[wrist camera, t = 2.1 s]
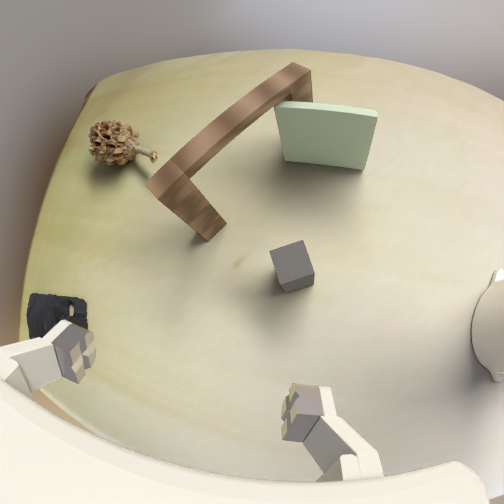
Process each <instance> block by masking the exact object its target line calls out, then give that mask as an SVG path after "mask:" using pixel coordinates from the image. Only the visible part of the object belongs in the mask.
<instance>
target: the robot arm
mask: <svg viewBox="0 0 504 504" xmlns="http://www.w3.org/2000/svg"><path fill="white" fill-rule="evenodd" d="M93 340H94V335H93V333H92V332H91V331H89V330H87V329H85V328H82V327H80V326H78V325H76V324H73V323H71V322H69V321H67V320H61V321H60V322H59V323H58V324H57V325H56V326H55V327H53V328H52V329H51V330H50V331H49V332H48V333H47V334H46V335H45V336H44V337H43V338H40V337H38V338H34V339H30V340H26V341H22V342H18V343H14V344H10V345H6V346H2V347H0V504H490V503H489V499H488V496H487V493H486V490H485V487H484V484H483V482H482V480H481V478H480V477H479V475H478V474H477V473H475V472H474V471H473V470H471V469H470V468H469V467H467V466H466V465H464V464H463V463H461V462H459V461H456V460H453V461H448V462H445V463H442V464H438V465H434V466H431V467H427V468H423V469H419V470H414V471H410V472H405V473H400V474H394V475H388V476H384V473H383V469H382V466H381V462H380V458H379V455H378V452H377V451H376V450H375V449H374V448H373V447H372V446H371V445H370V444H369V443H367V442H366V441H365V440H364V439H363V438H362V437H361V436H360V435H359V434H358V433H357V432H356V431H355V430H354V429H353V428H351V427H350V426H349V425H348V424H347V423H346V422H345V421H344V420H343V419H342V418H341V417H337V413H336V409H335V404H334V400H333V396H332V391H331V388H330V387H325V386H313V385H303V384H295V383H293V384H292V385H291V387H290V389H289V395H288V396H287V397H285V400H284V402H283V406H282V412H281V418H282V420H283V421H284V424H283V425H282V440H286V441H296V442H303V444H304V446H305V447H306V448H307V450H308V451H309V453H310V454H311V455H312V457H313V458H314V460H315V461H316V462H317V464H318V465H319V467H320V468H321V469H322V471H323V472H324V474H323V475H322V476H321V477H320V478H319V479H318V480H317V481H316V482H292V481H273V480H261V479H252V478H244V477H236V476H230V475H224V474H218V473H213V472H208V471H203V470H198V469H194V468H190V467H185V466H181V465H178V464H174V463H170V462H167V461H163V460H160V459H157V458H154V457H150V456H147V455H144V454H142V453H139V452H136V451H133V450H130V449H128V448H125V447H122V446H120V445H117V444H115V443H112V442H110V441H108V440H105V439H103V438H101V437H99V436H96V435H94V434H92V433H90V432H88V431H86V430H83V429H82V428H80V427H77V426H76V425H74V424H72V423H70V422H68V421H66V420H64V419H63V418H61V417H59V416H57V415H55V414H54V413H52V412H50V411H49V410H47V409H45V408H44V407H42V406H41V405H39V404H37V403H36V402H35V400H34V398H33V396H32V394H31V392H33V391H35V390H37V389H40V388H42V387H44V386H46V385H48V384H50V383H52V382H54V381H56V380H59V379H61V378H62V377H64V378H67V379H69V380H71V381H73V382H75V383H77V384H79V382H80V381H81V380H82V378H83V377H84V376H85V374H86V373H85V369H88V368H91V366H92V365H93V363H94V361H95V358H96V348H95V346H94V345H93V343H92V342H93ZM472 343H473V348H474V352H475V354H476V357H477V359H478V360H479V362H480V363H481V364H482V365H483V366H484V367H486V368H487V369H488V370H489V371H490V372H491V375H492V377H493V379H494V381H496V382H500V381H502V380H504V269H498V270H496V271H495V273H494V275H493V278H492V281H491V284H490V286H489V287H488V289H487V290H486V291H485V292H484V294H483V295H482V296H481V298H480V300H479V302H478V304H477V307H476V309H475V313H474V317H473V322H472Z"/></svg>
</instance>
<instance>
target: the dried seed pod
mask: <svg viewBox="0 0 504 504" xmlns="http://www.w3.org/2000/svg"><path fill="white" fill-rule="evenodd" d="M90 131H91V132H90V134H89V137H90V142H91V143H92V145H91V146H90V148H89V150H88V151H89V152H90V154H92V156H93V155H96V158H95V159H96V161H98V162H103V161H105V162H106V165H110V166H111V165H113V164H115V163H118V165H125V164H126V163H127V161H128V160H130V161H132V160H133V159H134V157H135V153H140V154H142V155H146V156H148V157H149V158H150V160H151V162H152V163H155V162H156V160H157V152H156V151H155V150H154V151H150V150H147V149H146V148H142V147H140V146H139V144H140V143H139V140H138V137H139V133H138V130H132V128H131V126H130V125H127V123H126V124H124V125H121V122H120V121H117V120H114V121H113V122H111V121H109V120H105V119H104V120H103V121H102V122H101V123H95V124H94V125H93V126H92V127H91V128H90Z"/></svg>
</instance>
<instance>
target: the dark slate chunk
mask: <svg viewBox="0 0 504 504" xmlns="http://www.w3.org/2000/svg"><path fill="white" fill-rule="evenodd" d="M71 304H73V305H74V315H73V316H70V313H69V308H70V307H69V306H70V305H71ZM86 305H87V304H86V302H85V301H84V300H83V299H79V298H77V297H67V296H56V295H52V294H48V295H46V294H38V293H32V294H31V295H30V298H29V303H28V308H27V324H28V327H29V337H30V339H34V338H38V337H40V338H43V337H44V336H45V335H46V334H47V333H48V332H49V331H50V330H51V329H52V328H53V327H55V326H56V325H57V324H58V323H59V322H60V321H61V320H67V321H69V322H71V323H73V324H76V325H78V326H80V327H82V328H85V329H87V330H88V323H87V318H86V317H87V312H86ZM84 317H85V318H84Z"/></svg>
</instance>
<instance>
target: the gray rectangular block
mask: <svg viewBox="0 0 504 504" xmlns="http://www.w3.org/2000/svg"><path fill="white" fill-rule="evenodd" d="M269 252H270V255H271V258H272V261H273V264H274V267H275V271H276V274H277V277H278V280H279V283H280V285H281V287H282V288H283V289H284V290H285V292H286V293H289V292H292V291H295V290H298V289H301V288H304V287H307V286H310V285H313V284H314V274H315V273H314V270H313V267H312V264H311V261H310V258H309V255H308V253H307V250H306V247H305V244H304V241H303V240H301V241H298V242H295V243H292V244H289V245H286V246H283V247H280V248H277V249H274V250H271V251H269Z"/></svg>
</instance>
